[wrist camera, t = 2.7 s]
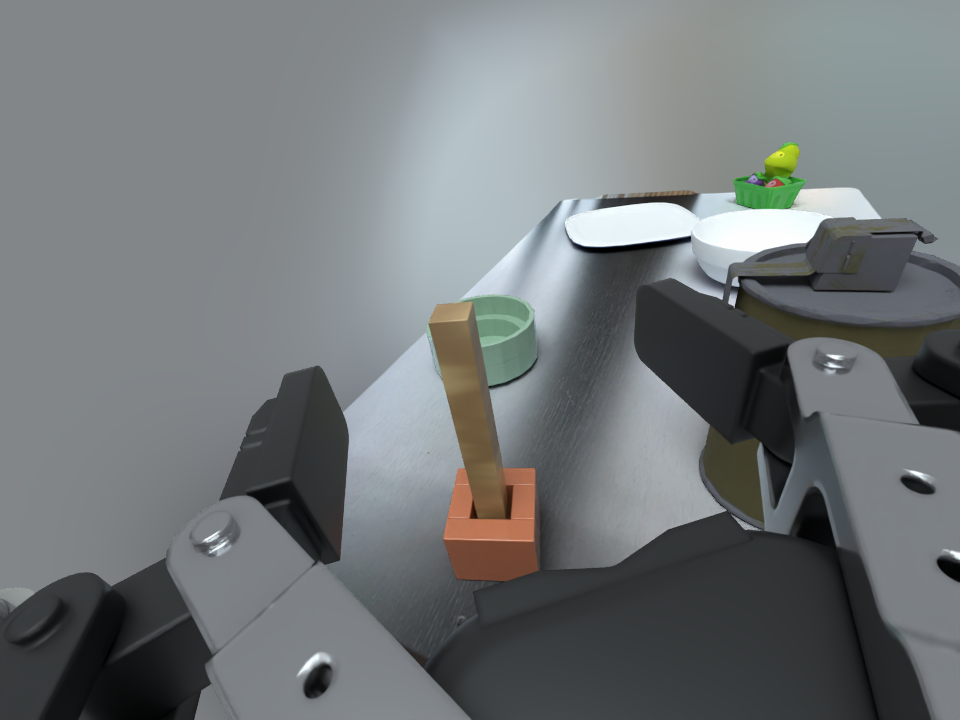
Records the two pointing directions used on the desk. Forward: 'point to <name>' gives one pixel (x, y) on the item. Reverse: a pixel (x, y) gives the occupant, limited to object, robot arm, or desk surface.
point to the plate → (630, 225)
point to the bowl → (748, 236)
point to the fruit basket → (771, 182)
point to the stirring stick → (470, 405)
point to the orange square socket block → (495, 531)
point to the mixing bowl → (502, 336)
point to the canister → (834, 316)
